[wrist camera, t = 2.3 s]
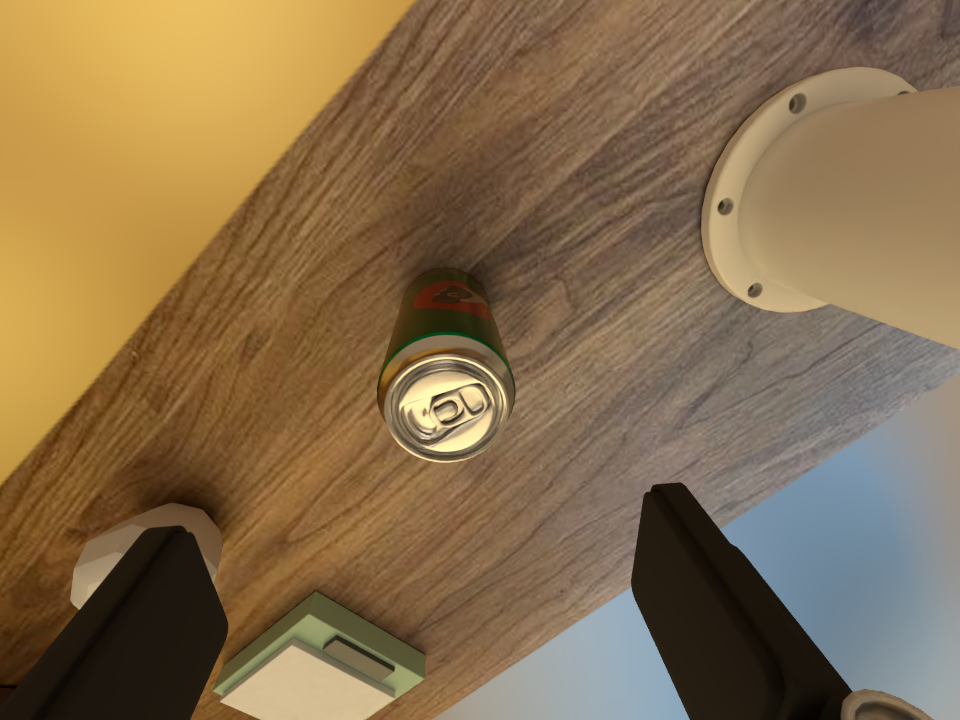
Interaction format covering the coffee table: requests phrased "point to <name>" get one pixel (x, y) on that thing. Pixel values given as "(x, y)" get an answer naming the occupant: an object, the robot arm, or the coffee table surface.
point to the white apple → (120, 538)
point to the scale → (320, 667)
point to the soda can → (445, 370)
